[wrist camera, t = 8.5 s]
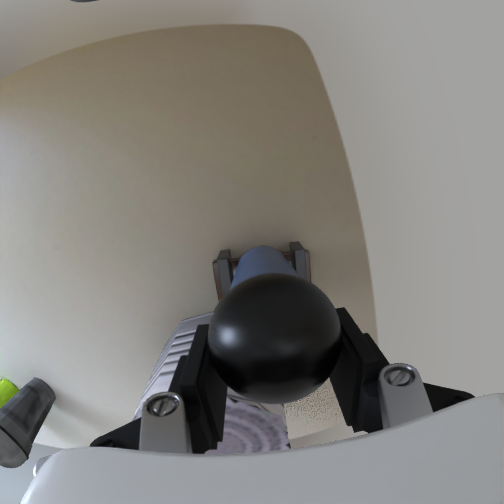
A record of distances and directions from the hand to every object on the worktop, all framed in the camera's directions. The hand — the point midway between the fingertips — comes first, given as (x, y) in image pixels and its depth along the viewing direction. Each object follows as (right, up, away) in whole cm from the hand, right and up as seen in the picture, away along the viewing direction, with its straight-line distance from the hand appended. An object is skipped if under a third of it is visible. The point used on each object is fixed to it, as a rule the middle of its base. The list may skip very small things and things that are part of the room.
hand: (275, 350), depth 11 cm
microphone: (0, +4, +3) cm, 5 cm away
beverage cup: (-31, -16, +18) cm, 39 cm away
